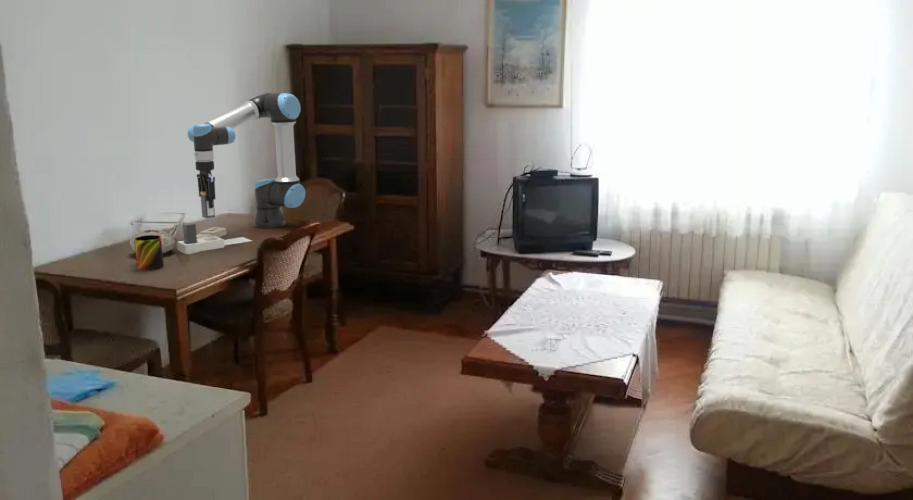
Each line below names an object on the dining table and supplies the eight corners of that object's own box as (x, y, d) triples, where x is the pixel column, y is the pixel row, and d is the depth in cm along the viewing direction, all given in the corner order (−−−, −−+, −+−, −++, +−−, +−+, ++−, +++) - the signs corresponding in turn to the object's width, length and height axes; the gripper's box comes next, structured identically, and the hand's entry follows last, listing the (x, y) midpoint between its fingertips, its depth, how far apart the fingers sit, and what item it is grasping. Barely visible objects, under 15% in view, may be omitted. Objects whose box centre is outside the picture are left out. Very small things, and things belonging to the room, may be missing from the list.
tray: (242, 238, 359) (242, 237, 359) (252, 241, 352) (252, 240, 352) (213, 242, 351) (213, 241, 350) (223, 246, 343) (223, 245, 343)
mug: (137, 263, 316) (134, 234, 313) (168, 264, 313) (165, 235, 310) (123, 269, 307) (119, 239, 304) (154, 271, 304) (151, 241, 301)
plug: (211, 215, 340) (209, 190, 338) (214, 217, 337) (213, 192, 335) (202, 216, 338) (200, 191, 335) (206, 218, 335) (204, 193, 332)
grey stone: (182, 249, 339) (180, 226, 336) (164, 259, 321) (162, 236, 319) (143, 248, 340) (141, 226, 338) (123, 258, 323) (120, 235, 320)
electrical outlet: (189, 234, 349) (213, 226, 366) (190, 243, 350) (213, 235, 367) (203, 235, 347) (226, 227, 364) (204, 244, 348) (226, 236, 365)
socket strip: (215, 244, 347) (213, 216, 344) (224, 248, 340) (222, 219, 337) (178, 250, 336) (175, 221, 333) (186, 254, 329) (183, 224, 326)
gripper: (187, 159, 336) (192, 212, 341) (204, 163, 323) (208, 218, 328) (204, 158, 340) (208, 210, 346) (221, 161, 328) (225, 216, 333)
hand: (208, 214), depth 337 cm, fingers closed on plug, 4 cm apart
